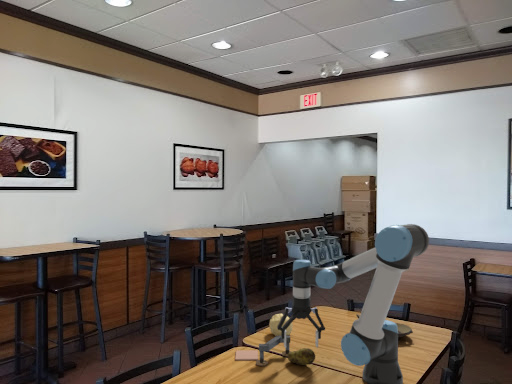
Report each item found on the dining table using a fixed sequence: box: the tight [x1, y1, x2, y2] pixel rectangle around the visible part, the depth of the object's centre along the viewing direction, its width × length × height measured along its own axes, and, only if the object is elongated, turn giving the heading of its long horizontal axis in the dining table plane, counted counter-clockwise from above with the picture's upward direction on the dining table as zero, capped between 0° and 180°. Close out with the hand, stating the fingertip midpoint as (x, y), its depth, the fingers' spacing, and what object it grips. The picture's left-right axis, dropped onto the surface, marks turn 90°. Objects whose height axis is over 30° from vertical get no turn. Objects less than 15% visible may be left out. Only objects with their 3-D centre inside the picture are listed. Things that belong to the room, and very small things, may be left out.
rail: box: [255, 335, 292, 367], centre depth 183 cm, size 7×21×8 cm, turn 133°
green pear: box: [287, 347, 316, 366], centre depth 176 cm, size 8×13×8 cm, turn 27°
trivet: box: [234, 349, 259, 361], centre depth 186 cm, size 10×10×1 cm
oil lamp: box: [356, 313, 414, 338], centre depth 214 cm, size 22×30×8 cm
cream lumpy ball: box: [268, 313, 293, 337], centre depth 215 cm, size 12×12×11 cm
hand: (300, 346), depth 176 cm, fingers open, 13 cm apart
